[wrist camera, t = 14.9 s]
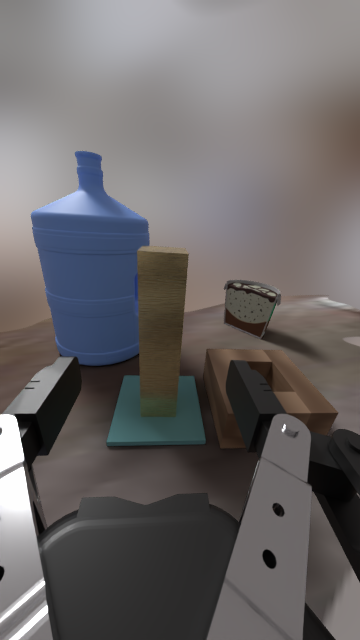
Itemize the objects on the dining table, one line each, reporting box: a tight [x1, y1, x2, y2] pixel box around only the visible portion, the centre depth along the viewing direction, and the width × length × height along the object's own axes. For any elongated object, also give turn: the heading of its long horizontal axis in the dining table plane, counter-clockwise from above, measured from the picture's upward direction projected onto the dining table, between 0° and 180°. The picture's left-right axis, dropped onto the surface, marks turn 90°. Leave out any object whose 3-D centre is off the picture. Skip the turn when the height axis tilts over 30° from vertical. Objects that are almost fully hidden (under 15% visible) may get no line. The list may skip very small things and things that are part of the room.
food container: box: [224, 280, 281, 339], centre depth 46 cm, size 12×6×10 cm, turn 44°
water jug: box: [31, 151, 149, 366], centre depth 33 cm, size 16×16×28 cm
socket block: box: [203, 349, 338, 449], centre depth 26 cm, size 11×11×5 cm
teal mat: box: [107, 375, 206, 446], centre depth 26 cm, size 10×10×1 cm
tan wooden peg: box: [137, 246, 189, 417], centre depth 22 cm, size 4×4×18 cm
